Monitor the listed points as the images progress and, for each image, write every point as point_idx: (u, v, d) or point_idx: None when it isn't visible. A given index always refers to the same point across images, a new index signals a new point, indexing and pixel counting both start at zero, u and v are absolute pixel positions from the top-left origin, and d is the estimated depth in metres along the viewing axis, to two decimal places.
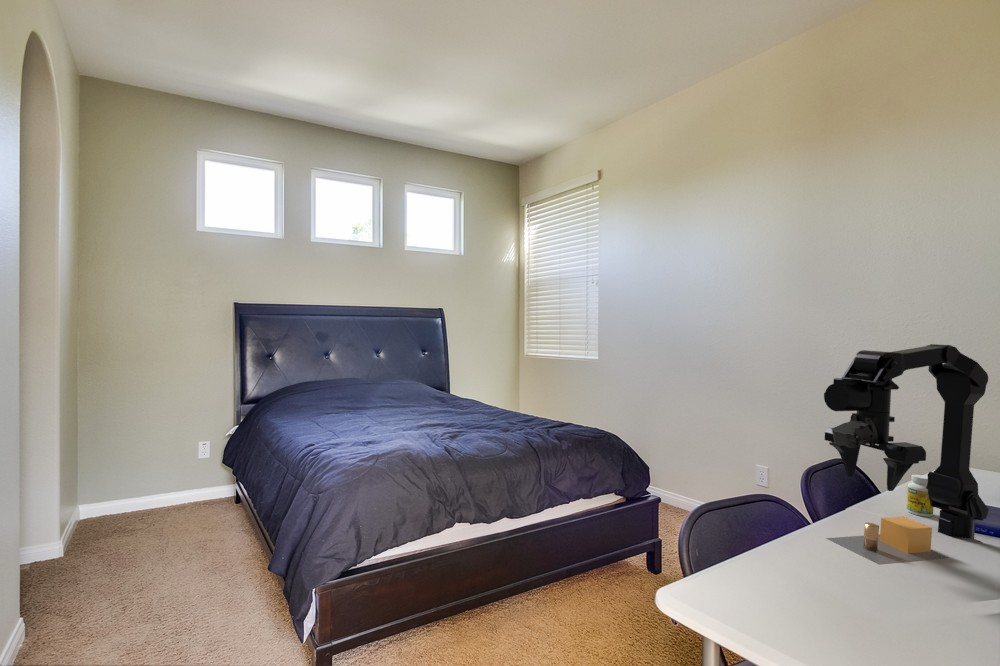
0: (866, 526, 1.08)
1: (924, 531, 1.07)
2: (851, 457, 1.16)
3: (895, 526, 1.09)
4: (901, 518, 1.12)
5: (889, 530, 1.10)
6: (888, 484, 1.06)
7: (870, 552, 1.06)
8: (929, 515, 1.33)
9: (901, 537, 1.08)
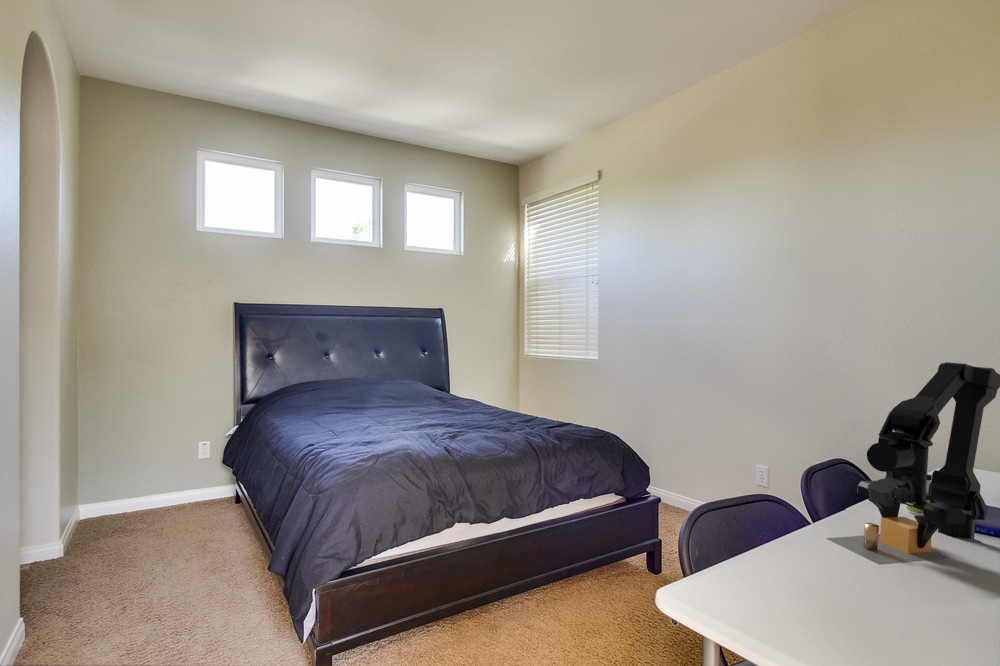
0: (866, 526, 1.08)
1: None
2: (891, 515, 1.13)
3: (895, 526, 1.09)
4: (901, 518, 1.12)
5: (889, 530, 1.10)
6: (918, 541, 1.06)
7: (870, 552, 1.06)
8: None
9: (901, 537, 1.08)
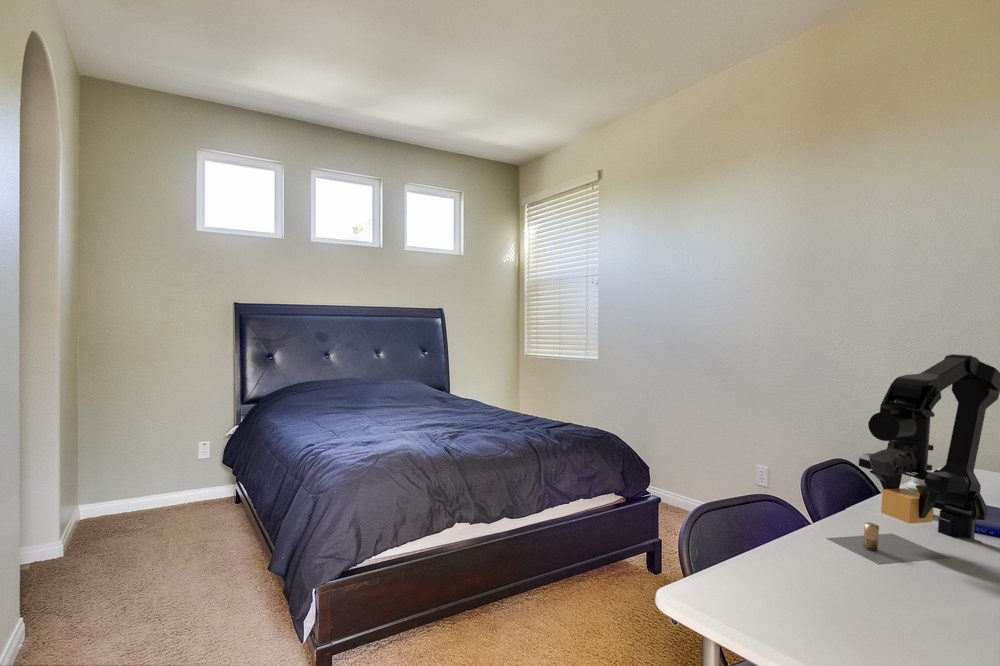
0: (866, 526, 1.08)
1: None
2: (893, 486, 1.13)
3: (896, 497, 1.09)
4: (902, 490, 1.12)
5: (890, 501, 1.10)
6: (920, 511, 1.06)
7: (870, 552, 1.06)
8: None
9: (902, 507, 1.07)
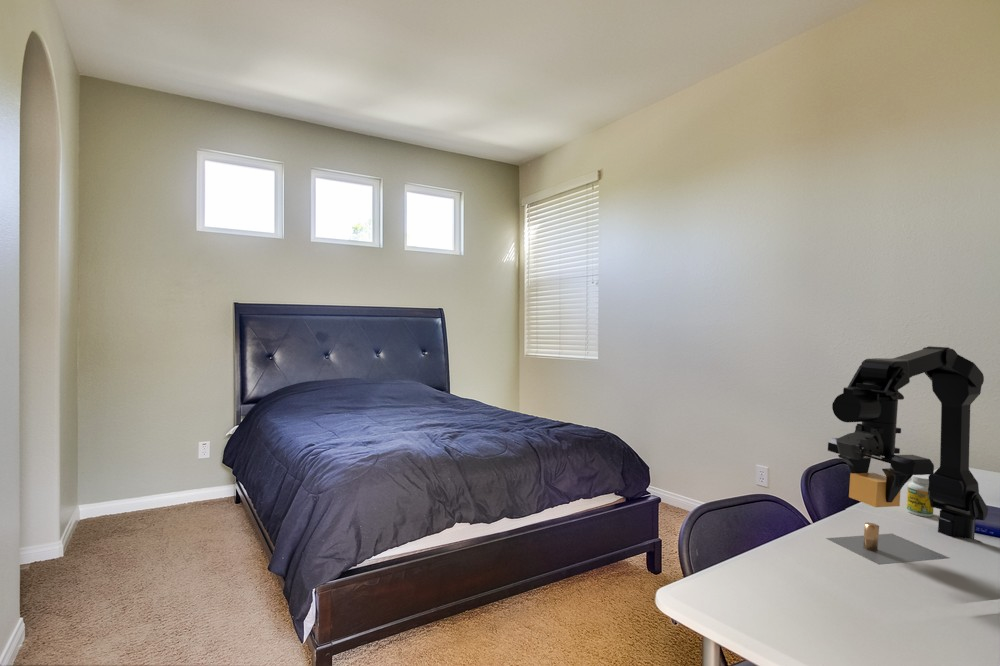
0: (866, 526, 1.08)
1: None
2: (861, 471, 1.11)
3: (864, 480, 1.07)
4: (871, 474, 1.10)
5: (858, 485, 1.08)
6: (887, 495, 1.04)
7: (870, 552, 1.06)
8: (929, 515, 1.33)
9: (869, 491, 1.05)
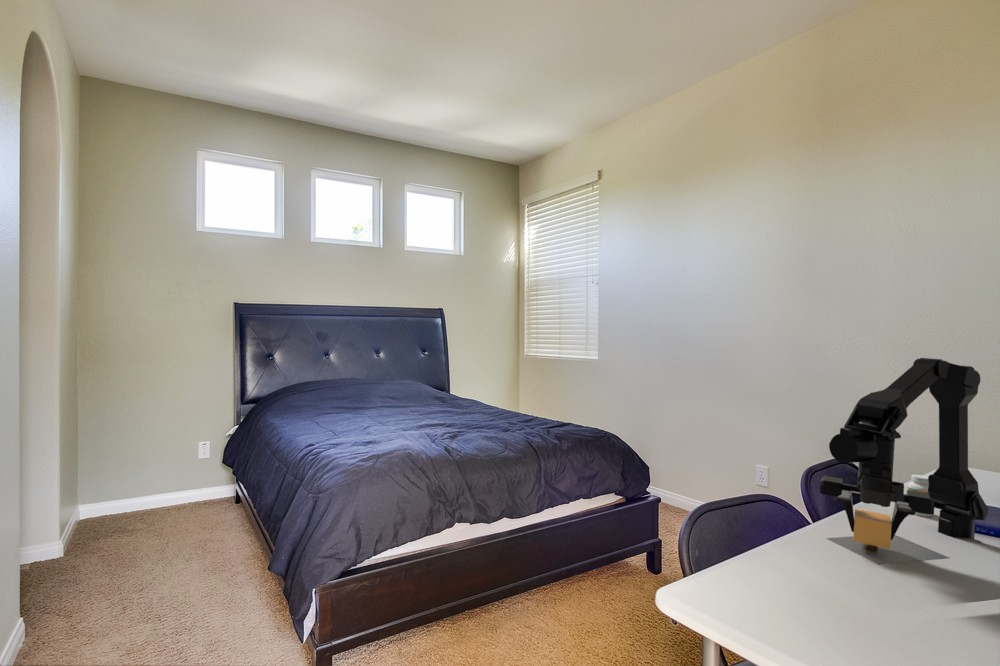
0: None
1: None
2: None
3: (873, 523, 1.05)
4: (860, 511, 1.10)
5: (866, 528, 1.06)
6: (892, 533, 1.05)
7: (870, 552, 1.06)
8: (929, 515, 1.33)
9: (881, 533, 1.04)
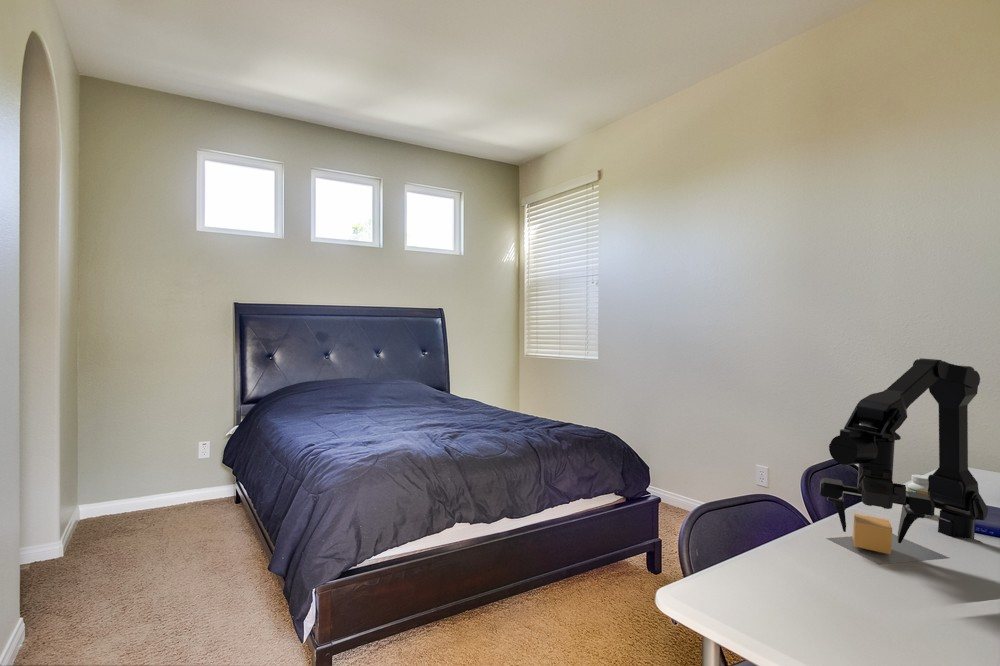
0: None
1: None
2: None
3: (874, 528, 1.05)
4: (859, 516, 1.10)
5: (866, 533, 1.06)
6: (901, 537, 1.05)
7: (870, 552, 1.06)
8: (929, 515, 1.33)
9: (882, 539, 1.04)
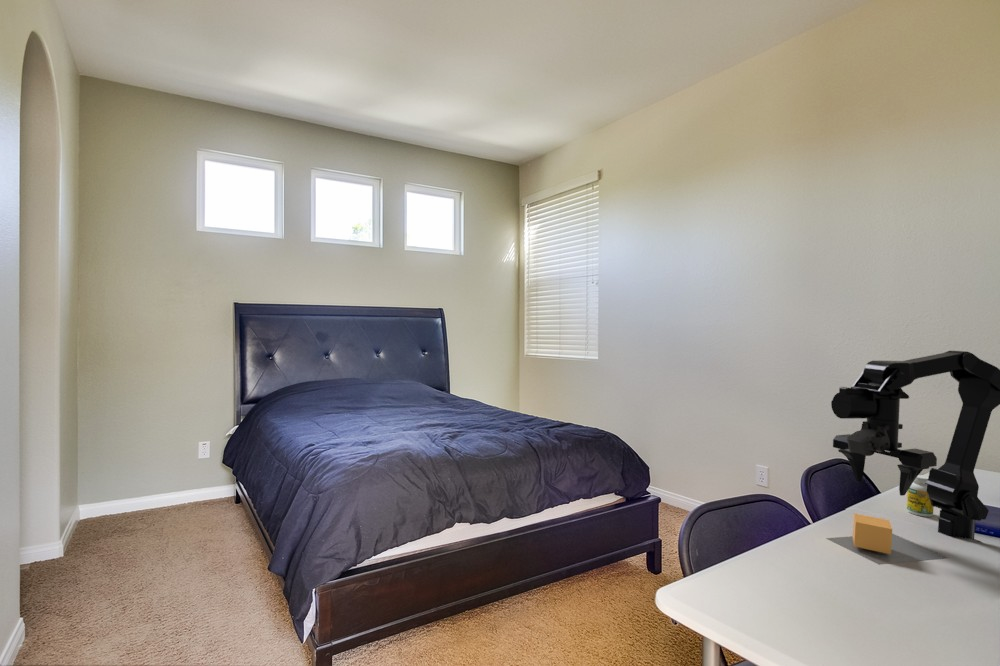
0: None
1: None
2: (859, 463, 1.20)
3: (874, 528, 1.05)
4: (859, 516, 1.10)
5: (866, 533, 1.06)
6: (901, 489, 1.11)
7: (870, 552, 1.06)
8: (929, 515, 1.33)
9: (882, 539, 1.04)
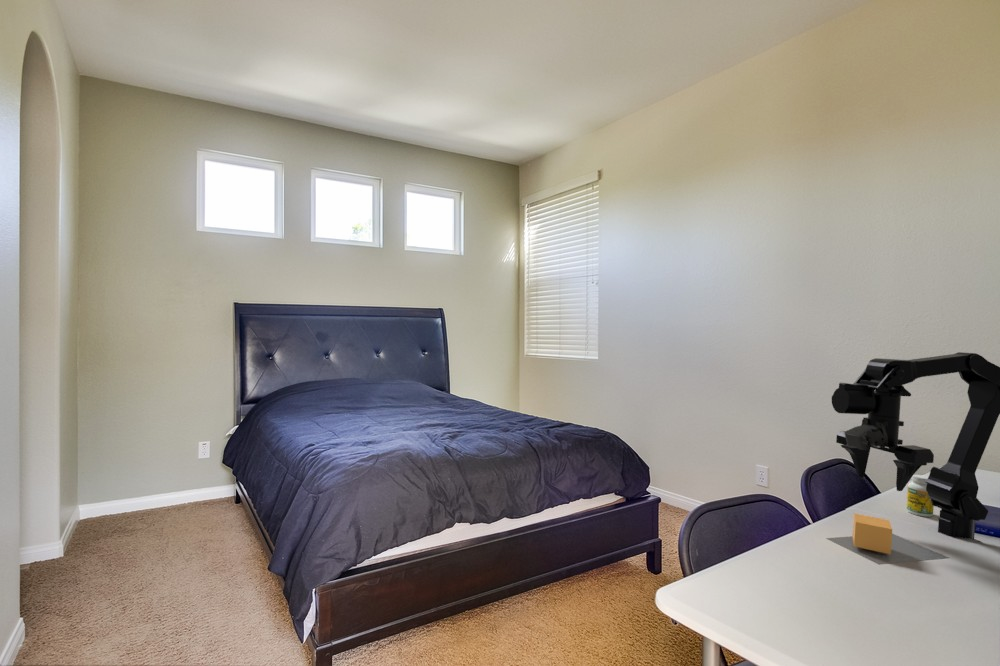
0: None
1: None
2: (861, 459, 1.23)
3: (874, 528, 1.05)
4: (859, 516, 1.10)
5: (866, 533, 1.06)
6: (897, 484, 1.13)
7: (870, 552, 1.06)
8: (929, 515, 1.33)
9: (882, 539, 1.04)
